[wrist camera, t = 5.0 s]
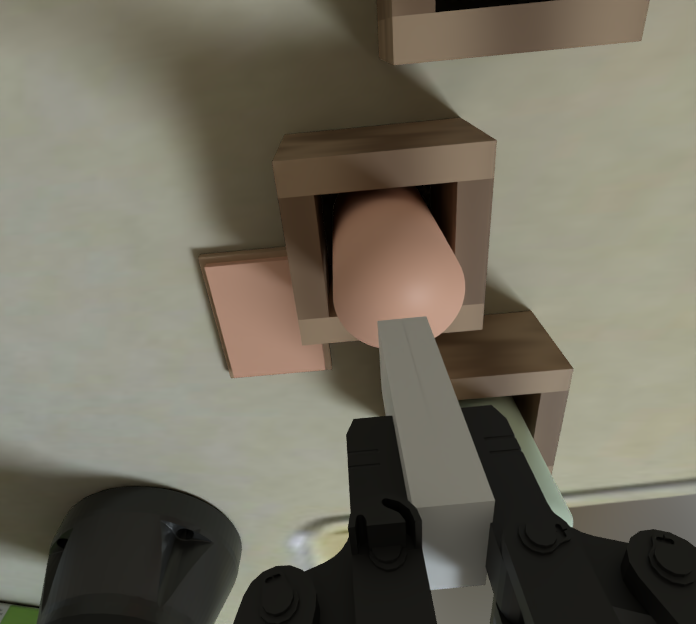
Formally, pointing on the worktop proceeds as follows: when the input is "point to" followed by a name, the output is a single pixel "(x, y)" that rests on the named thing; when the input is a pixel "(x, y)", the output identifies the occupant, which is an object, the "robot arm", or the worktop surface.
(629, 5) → the wooden box holder
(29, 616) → the toothbrush box
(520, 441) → the sage plunger
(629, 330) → the worktop surface
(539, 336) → the square brown wooden frame
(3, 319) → the worktop surface
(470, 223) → the brown housing
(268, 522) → the worktop surface
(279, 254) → the tile
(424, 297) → the pink rounded cylinder
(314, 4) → the worktop surface
